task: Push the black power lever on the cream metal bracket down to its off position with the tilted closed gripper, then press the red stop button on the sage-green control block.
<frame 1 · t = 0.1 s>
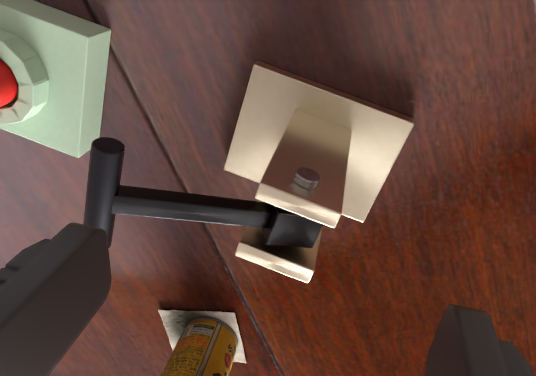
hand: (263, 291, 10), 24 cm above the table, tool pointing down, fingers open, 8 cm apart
power lever: (209, 209, 23), point 13 cm above the table, hinge at 25.0°
stop block: (37, 64, 36), on the table
condiment: (204, 333, 48), on the table
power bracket: (313, 142, 34), on the table
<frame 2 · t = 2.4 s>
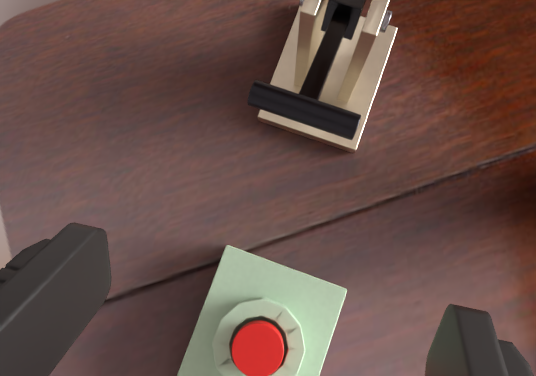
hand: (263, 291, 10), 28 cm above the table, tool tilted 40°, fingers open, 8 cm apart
power lever: (327, 50, 27), point 13 cm above the table, hinge at 25.0°
stop block: (261, 335, 37), on the table
stop button: (258, 348, 31), point 6 cm above the table, slide at 0.2 cm
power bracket: (327, 77, 40), on the table
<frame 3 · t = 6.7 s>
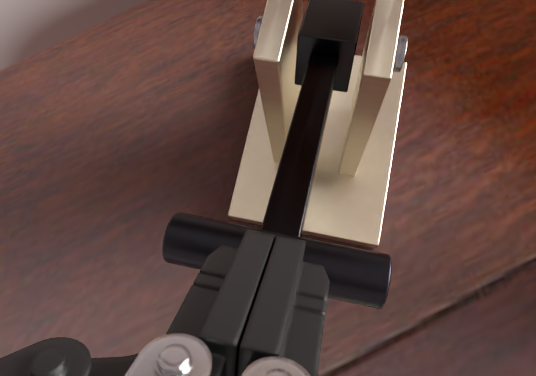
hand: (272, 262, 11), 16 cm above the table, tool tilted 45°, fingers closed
power lever: (309, 123, 15), point 13 cm above the table, hinge at 21.6°, touching gripper
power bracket: (319, 143, 29), on the table
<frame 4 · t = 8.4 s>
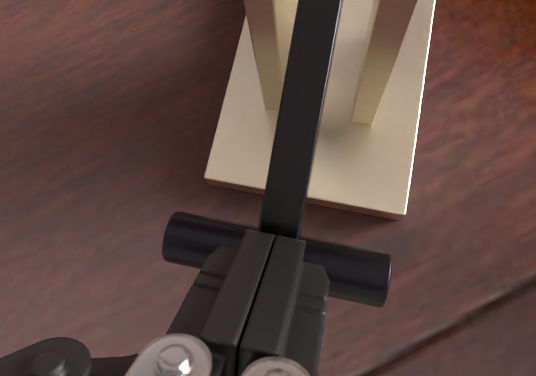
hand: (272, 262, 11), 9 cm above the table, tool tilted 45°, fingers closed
power lever: (310, 61, 12), point 10 cm above the table, hinge at -18.3°, touching gripper
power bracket: (324, 87, 22), on the table
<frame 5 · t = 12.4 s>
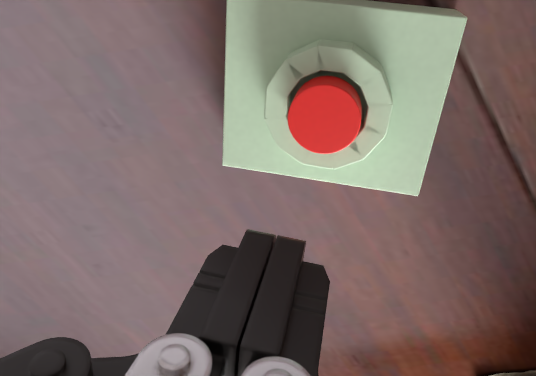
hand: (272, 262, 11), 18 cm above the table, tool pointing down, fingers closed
stop block: (332, 85, 27), on the table
stop button: (325, 114, 23), point 6 cm above the table, slide at 0.2 cm
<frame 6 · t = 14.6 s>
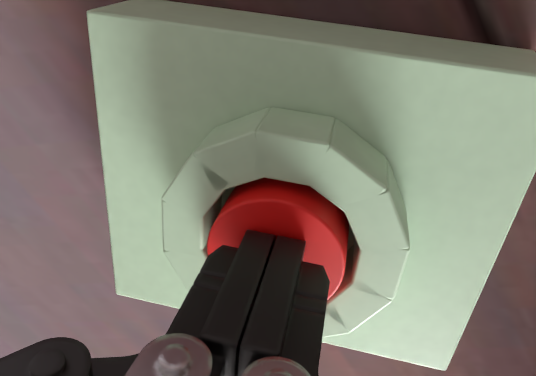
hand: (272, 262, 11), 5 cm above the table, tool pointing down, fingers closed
stop block: (303, 167, 16), on the table
stop button: (280, 241, 12), point 5 cm above the table, slide at -0.8 cm, touching gripper
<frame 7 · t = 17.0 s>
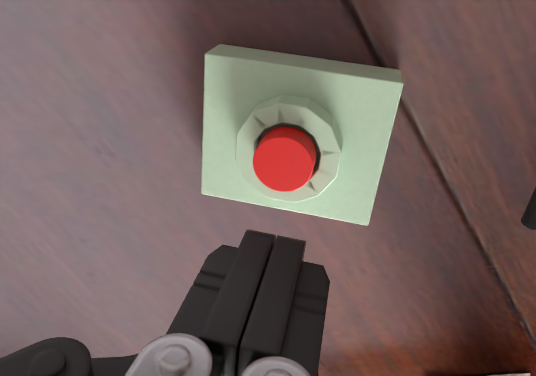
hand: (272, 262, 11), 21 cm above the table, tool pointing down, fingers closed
stop block: (297, 127, 32), on the table
stop button: (284, 159, 27), point 6 cm above the table, slide at 0.2 cm
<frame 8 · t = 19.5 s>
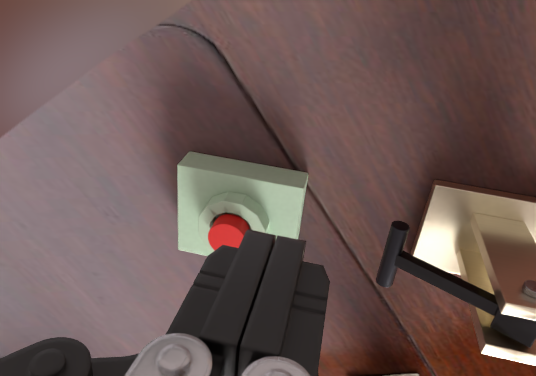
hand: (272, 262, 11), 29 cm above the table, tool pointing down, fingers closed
power lever: (455, 286, 34), point 9 cm above the table, hinge at -26.9°
stop block: (244, 204, 46), on the table
stop button: (229, 235, 41), point 6 cm above the table, slide at 0.2 cm
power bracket: (486, 232, 42), on the table
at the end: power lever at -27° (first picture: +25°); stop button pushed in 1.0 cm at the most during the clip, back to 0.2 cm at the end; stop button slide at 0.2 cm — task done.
